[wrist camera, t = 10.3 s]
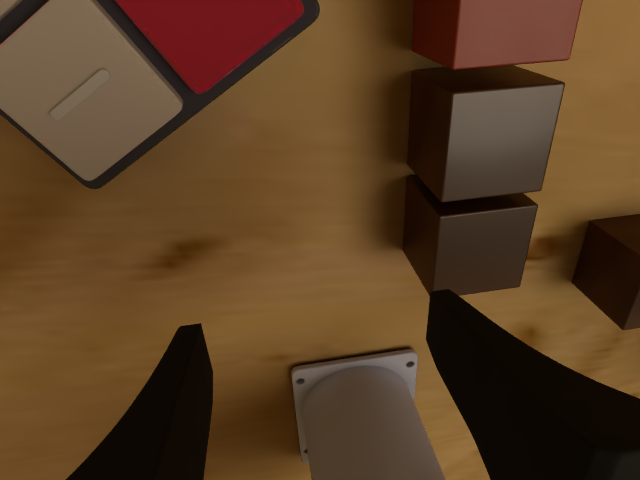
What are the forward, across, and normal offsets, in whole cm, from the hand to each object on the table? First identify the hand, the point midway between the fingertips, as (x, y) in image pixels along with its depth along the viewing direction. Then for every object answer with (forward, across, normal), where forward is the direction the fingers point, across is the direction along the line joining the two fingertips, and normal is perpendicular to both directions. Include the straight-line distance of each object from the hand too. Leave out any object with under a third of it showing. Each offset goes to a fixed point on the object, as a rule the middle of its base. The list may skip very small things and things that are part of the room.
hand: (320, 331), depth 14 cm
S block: (+9, -8, -9) cm, 15 cm away
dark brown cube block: (+9, -8, +2) cm, 12 cm away
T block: (+9, -8, -4) cm, 13 cm away
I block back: (+9, -19, +6) cm, 22 cm away
